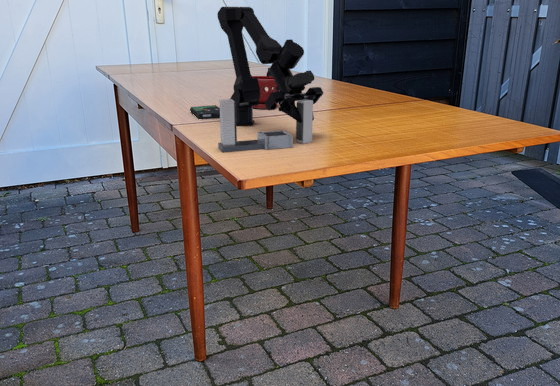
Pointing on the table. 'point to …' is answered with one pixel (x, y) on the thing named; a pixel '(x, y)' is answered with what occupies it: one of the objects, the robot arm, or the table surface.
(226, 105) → the grey l-shaped stand
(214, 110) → the disk drive
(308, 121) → the tall grey pillar
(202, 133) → the table surface
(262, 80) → the plant pot
